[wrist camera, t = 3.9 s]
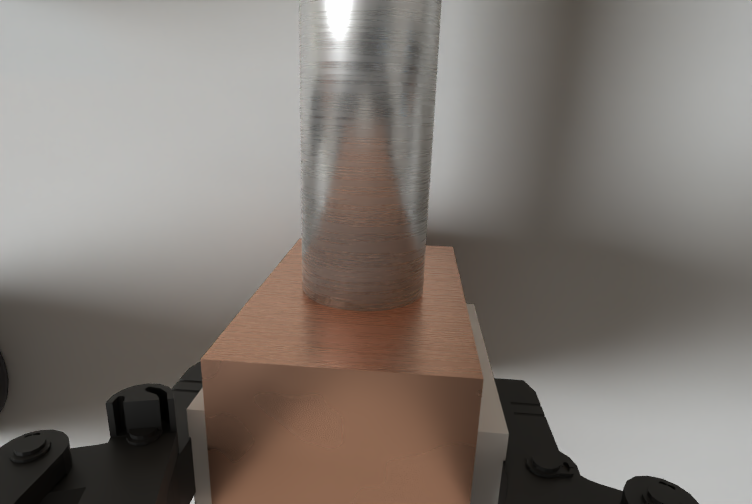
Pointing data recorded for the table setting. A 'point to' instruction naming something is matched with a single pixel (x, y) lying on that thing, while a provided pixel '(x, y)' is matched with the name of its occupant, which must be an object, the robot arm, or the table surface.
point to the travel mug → (3, 383)
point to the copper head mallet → (353, 294)
